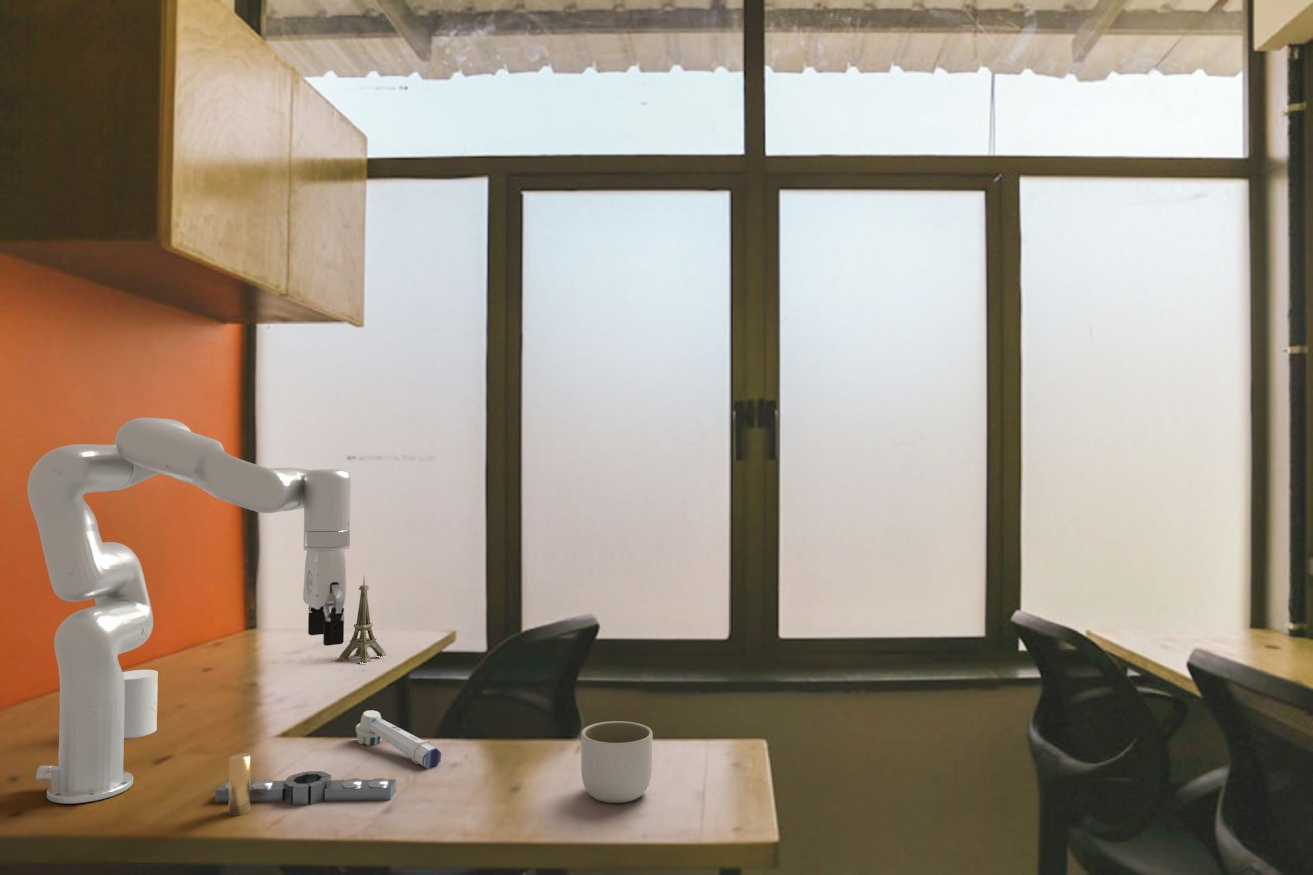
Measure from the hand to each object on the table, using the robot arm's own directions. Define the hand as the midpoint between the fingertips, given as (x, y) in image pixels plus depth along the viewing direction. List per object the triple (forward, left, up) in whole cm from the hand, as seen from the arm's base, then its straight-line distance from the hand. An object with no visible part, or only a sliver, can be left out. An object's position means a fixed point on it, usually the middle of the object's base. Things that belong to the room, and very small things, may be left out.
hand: (325, 639), depth 153 cm
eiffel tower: (-19, +99, -27) cm, 105 cm away
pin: (-11, -7, -27) cm, 30 cm away
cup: (-49, +35, -27) cm, 66 cm away
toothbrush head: (+8, +21, -27) cm, 35 cm away
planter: (+51, -2, -27) cm, 57 cm away
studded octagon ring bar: (-2, -1, -27) cm, 27 cm away
